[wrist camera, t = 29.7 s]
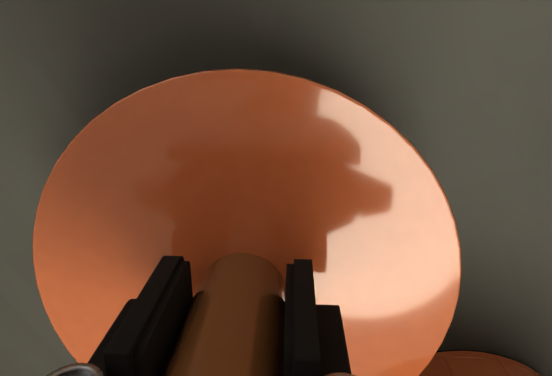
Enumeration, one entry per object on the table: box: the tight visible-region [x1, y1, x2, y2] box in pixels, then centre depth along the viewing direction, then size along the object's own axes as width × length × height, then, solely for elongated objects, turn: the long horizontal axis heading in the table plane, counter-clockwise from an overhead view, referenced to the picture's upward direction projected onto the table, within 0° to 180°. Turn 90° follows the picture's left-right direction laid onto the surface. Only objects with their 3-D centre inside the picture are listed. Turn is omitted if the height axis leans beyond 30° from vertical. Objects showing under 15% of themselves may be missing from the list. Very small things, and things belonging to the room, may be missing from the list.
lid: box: [33, 68, 461, 376], centre depth 11 cm, size 14×14×7 cm
